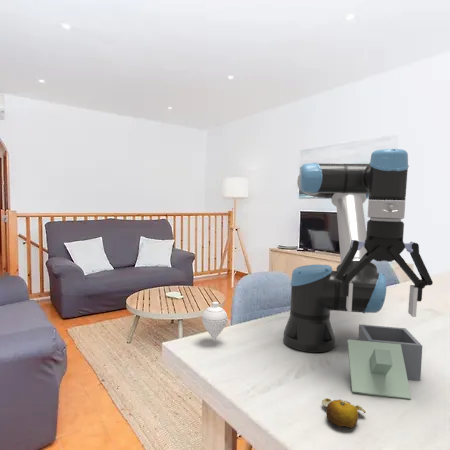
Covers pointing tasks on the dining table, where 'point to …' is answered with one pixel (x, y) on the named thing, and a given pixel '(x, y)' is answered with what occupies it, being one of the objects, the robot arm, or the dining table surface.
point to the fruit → (341, 412)
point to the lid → (377, 369)
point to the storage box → (397, 336)
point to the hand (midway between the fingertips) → (379, 312)
